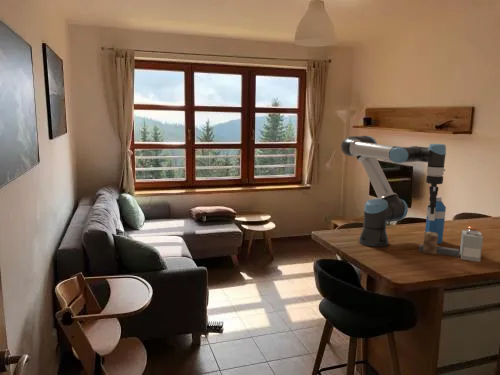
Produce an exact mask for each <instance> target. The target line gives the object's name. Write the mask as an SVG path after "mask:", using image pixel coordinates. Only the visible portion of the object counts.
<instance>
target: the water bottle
mask: <svg viewBox="0 0 500 375" xmlns="http://www.w3.org/2000/svg"><path fill="white" fill-rule="evenodd" d="M442 200H443V199H442V196H438V195H437V196H436V209H435V219H434V221H432V220H428V218H429V214H428V209H429V207H428V206H427V209H426V221H425V230H424V233H425V232H436V233H438V241H437V245H438V244H439V243H440V244H442V243H443V238H444V230H445V220H446V210H447V209H446V208H447V207H446V205H445V204H444V203H443V201H442Z"/></svg>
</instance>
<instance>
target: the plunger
mask: <svg viewBox="0 0 500 375" xmlns="http://www.w3.org/2000/svg"><path fill="white" fill-rule="evenodd" d="M478 230H479V227H478V226H476V225H475V226H474V225H469V226H467V231H468V235H476V236H477V232H479V231H478Z"/></svg>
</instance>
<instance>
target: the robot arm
mask: <svg viewBox="0 0 500 375" xmlns="http://www.w3.org/2000/svg"><path fill="white" fill-rule="evenodd" d="M446 148H447V146H446V145H445V144H443V143H429V147H425V146H417V145H413V146H407V147H405V146H397V145H396V146H395V145H387V144H380V143H377V140H376V139H375V138H373V136H368V135H359V136H358V135H356V136H354V135H352V136H347V137H345V138H344V139H343V140H342V142H341V144H340V149H341V152H342V153H343V154H344V155H345V156H348V157H355V158H356V160H357V161H358V162H359V163H361V164H362V166H363V168H364V170H365V173H366V175H367V177H368V178H369V179H368V180H369V182H370V183H371V186H372V187H373V190H374V191H375V194H376V196H377V198H372V199H369V200H367V201H366V202H365V203H364V209H363V211H364V212H363V228H362V231H361V233H360V235H359V239H358V242H359V243H360V244H362V245H364V246H368V247H373V248H377V247H378V248H384V247H386V246H387V247H388V245H389V238H388V234H387V231H386V230H387V223H392V222H393V223H394V222H398V221H401V220H403V219H404V218H406V216H407V214H408V212H409V207H408V204H407V202H406V201H405V200H404V199H402V198H399V196H398V194H397V193H396V192H394V191H393V189H392V187H391V185H390V183H389V181H388V178H387V177H386V175H385V172H384V171H383V169H382V166H381V164H380V163H379V159H380V160H387V161H391V162H392V163H397V164H402V163H416V162H421V163H427V167H426V168H427V169H426V174H427V175H426V178H425V179H426V181H425V182H426V183H427V184H430V186H429V188H428V189H429V197H428V198H429V201H428V205H427V208H428V207H429V209H428V214H429V218H428V220H432V221H434V219H435V209H436V196H438V192H439V186H438V185H442V184H443V183H444V176H443V175H444V172H445V171H446V169H445V162H446V155H447V149H446Z"/></svg>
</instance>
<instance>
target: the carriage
mask: <svg viewBox="0 0 500 375" xmlns="http://www.w3.org/2000/svg"><path fill="white" fill-rule="evenodd" d="M437 241H438V233H436V232H425V231H424V235H423V245H424V248H423V252H422V253H425V254H432V255H437V254H436V250H437V246H438V244H437Z"/></svg>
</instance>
